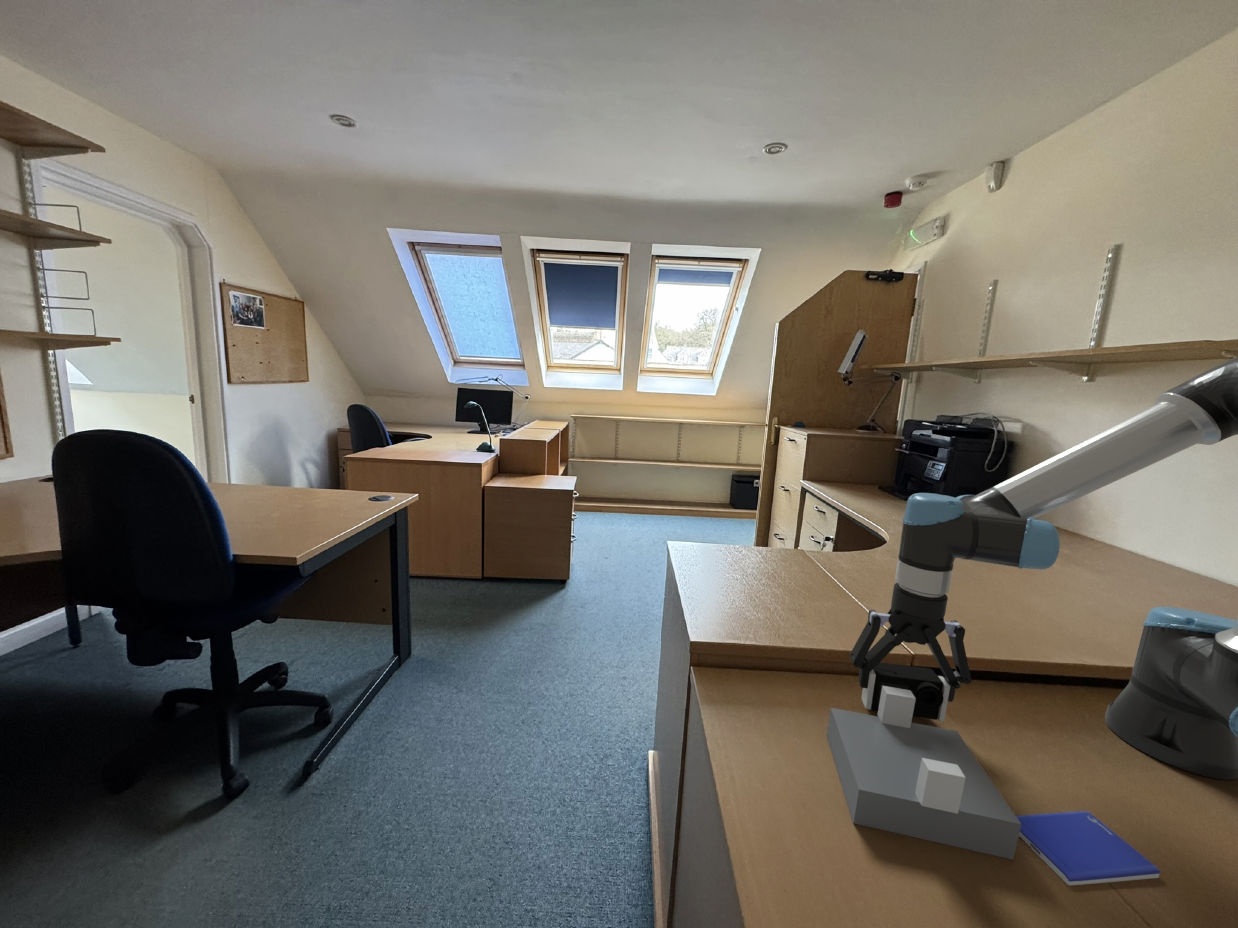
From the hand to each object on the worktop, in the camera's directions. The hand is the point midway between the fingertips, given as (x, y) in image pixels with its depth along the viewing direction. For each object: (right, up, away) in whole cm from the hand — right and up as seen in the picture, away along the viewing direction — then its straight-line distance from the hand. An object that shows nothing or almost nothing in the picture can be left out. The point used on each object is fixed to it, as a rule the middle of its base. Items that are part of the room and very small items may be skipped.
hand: (901, 709), depth 81 cm
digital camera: (0, 0, 0) cm, 1 cm away
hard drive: (+9, -7, -21) cm, 24 cm away
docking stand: (-8, -4, -14) cm, 17 cm away
